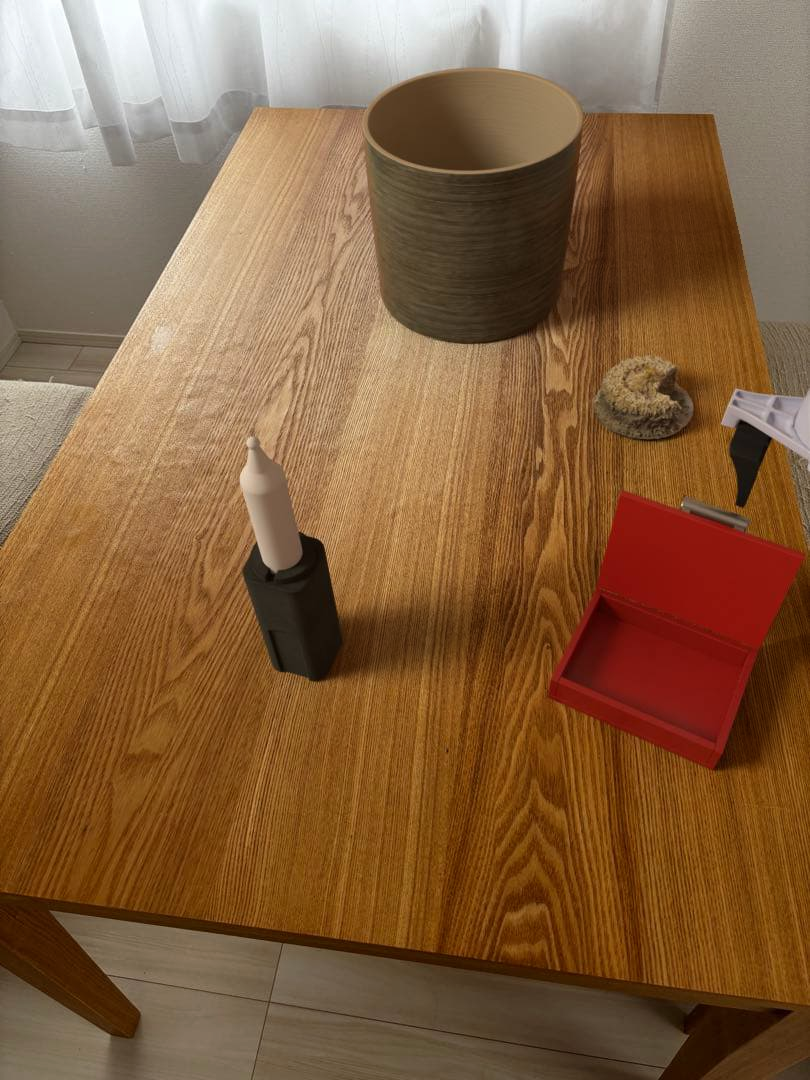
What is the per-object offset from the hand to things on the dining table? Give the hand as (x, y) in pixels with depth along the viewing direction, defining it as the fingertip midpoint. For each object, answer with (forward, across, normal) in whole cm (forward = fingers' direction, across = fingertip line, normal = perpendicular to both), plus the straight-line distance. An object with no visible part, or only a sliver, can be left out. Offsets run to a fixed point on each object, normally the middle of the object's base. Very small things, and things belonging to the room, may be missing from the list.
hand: (793, 516), depth 66 cm
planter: (+12, -41, +28) cm, 51 cm away
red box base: (+10, -5, -12) cm, 17 cm away
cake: (+11, -16, +18) cm, 26 cm away
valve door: (+2, -5, -7) cm, 9 cm away
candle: (+11, -31, -22) cm, 40 cm away
